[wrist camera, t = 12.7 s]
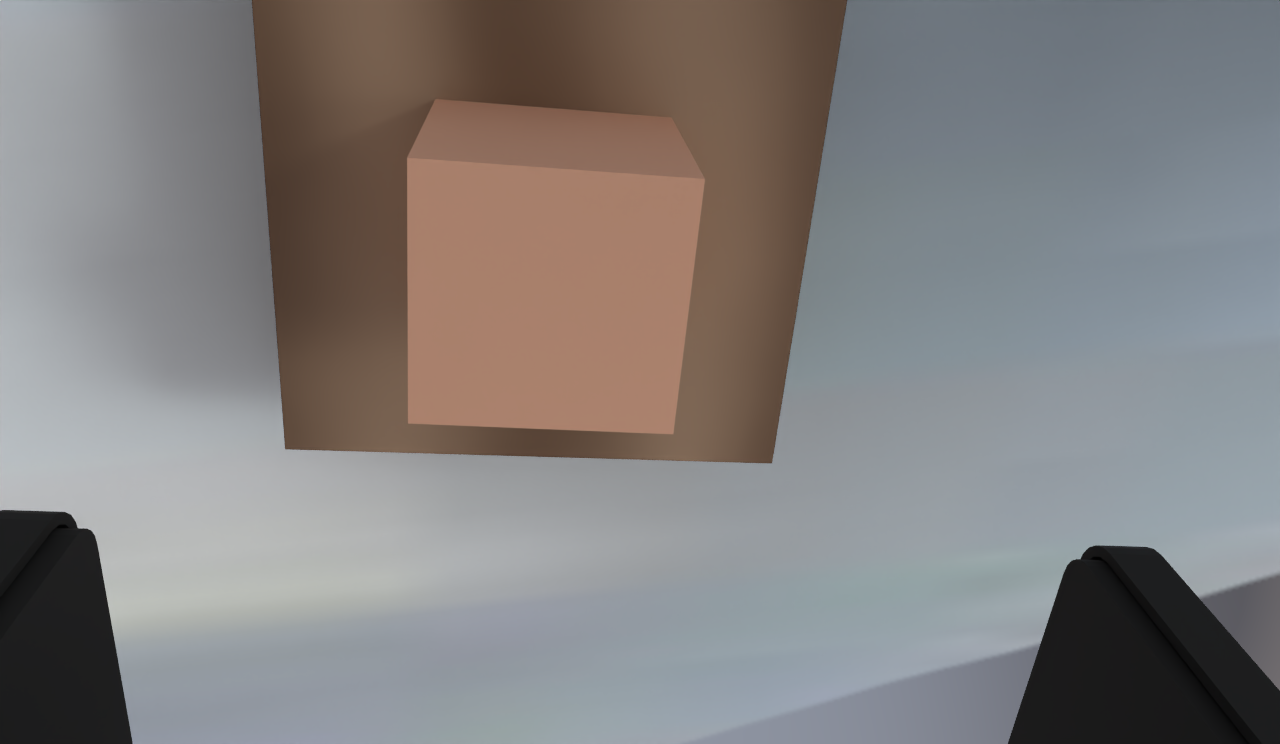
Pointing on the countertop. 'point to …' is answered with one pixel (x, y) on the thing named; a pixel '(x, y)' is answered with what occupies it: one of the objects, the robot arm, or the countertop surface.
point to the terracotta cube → (548, 268)
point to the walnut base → (551, 78)
